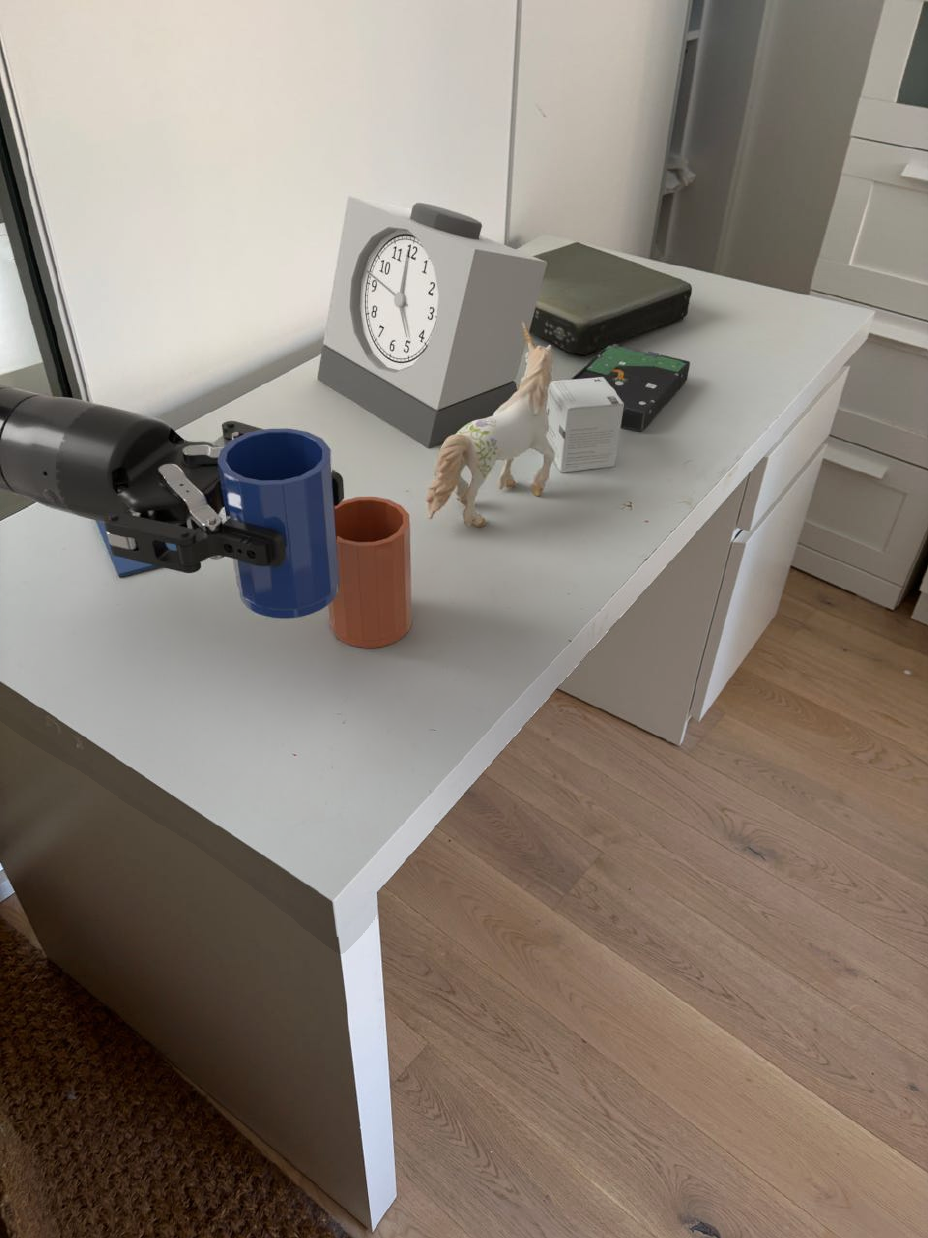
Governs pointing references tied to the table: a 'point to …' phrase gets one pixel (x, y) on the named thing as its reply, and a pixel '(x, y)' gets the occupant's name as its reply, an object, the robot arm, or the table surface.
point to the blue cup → (284, 518)
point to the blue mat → (127, 565)
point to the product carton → (583, 423)
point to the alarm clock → (426, 317)
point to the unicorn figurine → (498, 441)
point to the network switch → (602, 299)
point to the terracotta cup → (372, 573)
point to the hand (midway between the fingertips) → (312, 519)
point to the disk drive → (638, 381)
